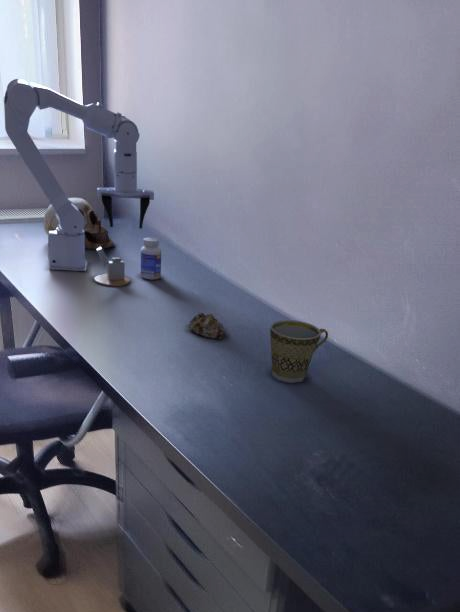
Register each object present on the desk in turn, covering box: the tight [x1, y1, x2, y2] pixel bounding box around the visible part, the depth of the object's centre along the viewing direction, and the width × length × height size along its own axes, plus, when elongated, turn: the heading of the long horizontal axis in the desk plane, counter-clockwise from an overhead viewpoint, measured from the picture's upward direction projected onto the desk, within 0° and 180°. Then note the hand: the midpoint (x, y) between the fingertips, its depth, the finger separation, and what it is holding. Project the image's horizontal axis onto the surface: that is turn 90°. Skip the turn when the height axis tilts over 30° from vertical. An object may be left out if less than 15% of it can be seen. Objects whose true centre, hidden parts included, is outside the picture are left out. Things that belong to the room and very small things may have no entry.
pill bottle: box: [140, 236, 162, 281], centre depth 187 cm, size 5×5×10 cm
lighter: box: [95, 247, 126, 280], centre depth 182 cm, size 7×2×8 cm, turn 115°
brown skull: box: [43, 197, 115, 250], centre depth 206 cm, size 16×17×13 cm
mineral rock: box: [188, 312, 226, 341], centre depth 160 cm, size 11×4×8 cm
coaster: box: [94, 273, 131, 287], centre depth 184 cm, size 9×9×1 cm
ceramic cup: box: [269, 319, 329, 384], centre depth 143 cm, size 13×10×10 cm
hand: (126, 226), depth 190 cm, fingers open, 7 cm apart
